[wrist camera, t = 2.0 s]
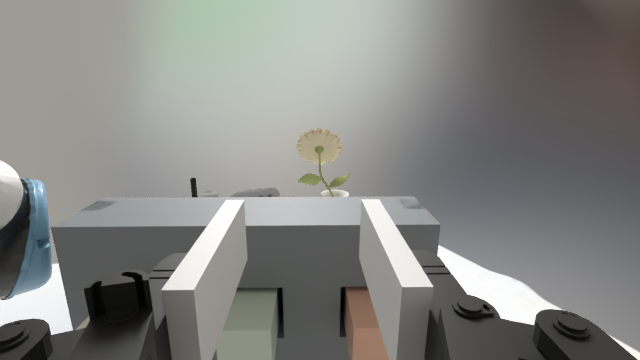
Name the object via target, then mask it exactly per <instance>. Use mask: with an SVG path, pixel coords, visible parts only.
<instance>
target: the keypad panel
mask: <svg viewBox="0 0 640 360" xmlns="http://www.w3.org/2000/svg"><path fill="white" fill-rule="evenodd" d="M361 199H379V200H380V201H381V203H382V205H383V206H384V208H385V209H386V211H387V213H388V214H389V216H390V218H391V219H392V221H393V222H394V224H395V226H396V227H397V229H398V230H399V232H400V234H401V235H402V237H403V238H404V240H405V242H406V243H407V245H408V246H409V248H410V250H428V251H430V252H431V253H433V254H435V255H436V256H437V251H438V242H439V232H440V224H439V223H438V221H437V220H436V219H435V218H434V217H433V216H432V215H431V214H430V213H429V212H428V211H427V210H426V209H425V208H424V207H423V206H422V205H421V204H420V202H419V201H418V200H417V199H416V198H415V197H188V198H103V199H101V200H99V201H97V202H96V203H94V204H92V205H90V206H89V207H87V208H85V209H83V210H81V211H79V212H77V213H76V214H74V215H72V216H70V217H68V218H67V219H65V220H63V221H61V222H59V223H57V224H56V225H54V226H52V227H51V230H52V234H53V239H54V244H55V248H56V253H57V257H58V262H59V267H60V271H61V276H62V281H63V285H64V290H65V295H66V299H67V304H68V308H69V313H70V318H71V322H72V327H73V330H76V329H77V328H78V327H79V326H80V324H81V323H82V322H83V321H84V320H85V319H86V318H87V317H88V316H89V313H88V308H87V303H86V298H85V293H84V287H85V286H86V285H87V284H89V283H90V282H91V281H93V280H94V279H96V278H98V277H100V276H102V275H105V274H108V273H111V272H114V271H119V270H125V269H137V270H142V271H144V272H146V273H147V274H148V275H149V274H150V273H151V272H153V269H154V268H155V267H156V266H157V265H158V263H159V262H160V261H161V260H163V259H165V258H166V257H168V256H170V255H171V254H173V253H188V252H189V251H190V249H191V248H192V246H193V245H194V244H195V242H196V241H197V239H198V238H199V237H200V235H201V234H202V232H203V231H204V230H205V228H206V227H207V226H208V224H209V223H210V221H211V220H212V219H213V217H214V216H215V214H216V213H217V212H218V210H219V209H220V207H221V206H222V205H223V203H224V202H225V201H226V200H244V204H245V222H246V241H247V262H246V264H245V267H244V270H243V273H242V276H241V279H240V282H239V284H238V287H237V288H278V290H279V326H278V334H277V343H276V351H275V359H274V360H350V357H349V351H348V344H347V337H346V331H345V324H344V290H345V287H365V286H367V283H366V280H365V277H364V273H363V270H362V266H361V263H360V260H359V245H360V220H361ZM212 360H217V350H215V353H214V356H213V358H212Z"/></svg>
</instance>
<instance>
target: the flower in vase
mask: <svg viewBox="0 0 640 360" xmlns="http://www.w3.org/2000/svg"><path fill="white" fill-rule="evenodd" d="M339 141H340V139H339V138H337V134H330V132H329V130H325V131H322V129H320V128H319V129H317V130H313V129H311V130H310V131H309V132H308V133H303V135H301V136H300V140H298V143H299V144H297V145H296V148H297V150H299V151H298V153H299V154H301V158H303V159H304V160H306V161H307V162H311V161H313V163H314V164H319V174H320V177H321V178H320V177H319V176H316V175H314V174H306V175H304V176H303V177H302V178H301V179H300V180H299V181H298V182H302V183H306V184H310V185H316V184H317V183H319V182H320V180H321V179H322V181H323V183H324V184H325V186H326V187H327V188H328V190H326V191H323V192H321V194H320V195H321V196H322V197H348V196H349V193H348V192H345V191H342V190H330V188H329V187H335V186H339V185H341V184H343V183H344V182H345V181H346V180H347V179H348V177H349V175H350V174H347V175H345V176H342V177H338V178H335V179H334V180H333V181H332V182H331V184H330V186H328V185H327V184H326V182H325V181H324V179H323V177H322V175H321V165H322V164H324V163H325V162H326V163H330V162H331V161H333V160H334V161H335V160H337V157H336V156H339V155H340V152H342V151H343V149H342V145H341V143H340V142H339Z"/></svg>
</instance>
